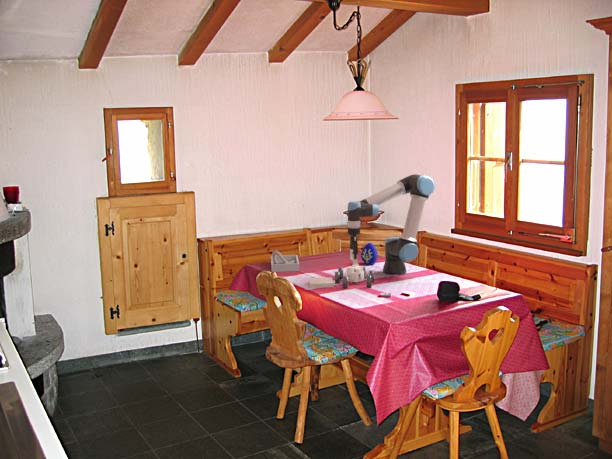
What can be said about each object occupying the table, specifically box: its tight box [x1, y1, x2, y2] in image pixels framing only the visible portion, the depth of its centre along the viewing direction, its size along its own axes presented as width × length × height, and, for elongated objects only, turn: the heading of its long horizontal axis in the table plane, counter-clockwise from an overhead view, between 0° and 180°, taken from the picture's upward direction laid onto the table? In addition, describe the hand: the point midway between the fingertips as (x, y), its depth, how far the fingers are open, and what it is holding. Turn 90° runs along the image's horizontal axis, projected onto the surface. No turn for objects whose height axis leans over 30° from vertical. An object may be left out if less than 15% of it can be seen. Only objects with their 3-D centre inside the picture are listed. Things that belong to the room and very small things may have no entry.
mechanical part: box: [344, 263, 365, 284], centre depth 421 cm, size 11×12×12 cm
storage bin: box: [270, 254, 300, 273], centre depth 471 cm, size 18×29×5 cm, turn 3°
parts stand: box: [308, 277, 335, 289], centre depth 419 cm, size 14×14×2 cm
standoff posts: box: [334, 265, 375, 290], centre depth 422 cm, size 24×28×7 cm
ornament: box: [360, 242, 379, 266], centre depth 472 cm, size 11×9×15 cm
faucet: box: [271, 250, 296, 264], centre depth 472 cm, size 14×11×20 cm
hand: (353, 262), depth 420 cm, fingers open, 13 cm apart
